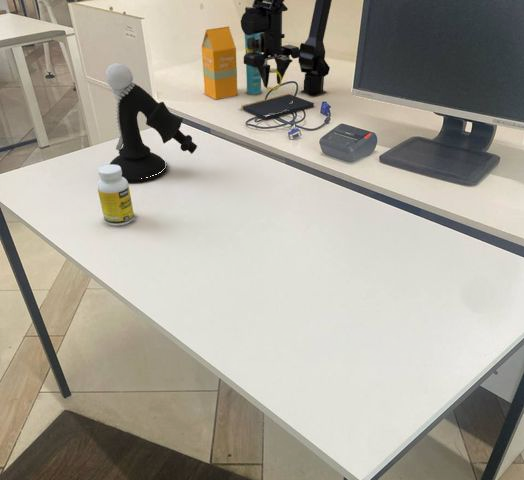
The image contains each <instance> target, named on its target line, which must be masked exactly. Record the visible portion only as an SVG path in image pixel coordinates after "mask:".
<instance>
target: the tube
mask: <svg viewBox="0 0 524 480" xmlns="http://www.w3.org/2000/svg"><path fill="white" fill-rule="evenodd" d="M243 33H244V32H243ZM261 33H263V32H261ZM261 33H257V34H252V35H246V34H245V33H244V47H245V48H244V49H245V54H247V53H251V52H253V51H252V50H249V49H248V47H247V39H248V38H251V37H254V38H255V40H257V39H260V34H261ZM256 53H259V54H263V53H261V52H259V51H257V52H256ZM245 71H246V73H245V74H246V75H245V76H246V93H247V94H248V95H252V96H254V95H260V94H261V93H262V78H261V75H260V72H259V70H258V68H257V67H252V66H249V65H246V64H245Z"/></svg>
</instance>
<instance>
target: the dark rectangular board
mask: <svg viewBox="0 0 524 480" xmlns="http://www.w3.org/2000/svg"><path fill="white" fill-rule="evenodd" d="M292 100H293V104H289V103H290V102H291V101H292ZM314 106H315V103H314V102H312V101H309V100H308V99H304V98H301V97H299V96H296V95H293V94H291V93H284V94H280V95H277V96H273V97H269V98H266V99H262V100H258V101H257V100H256V101H254V102H249V103H246V104H242V105H241V106H240V110H242V111H244V112H247V113H249V114H251V115H253V116H256V117H258V118H260V119H262V120H264V121H268V120H272V119H275V118H280V117H283V116H285V115H289V114H294V113H297V112H300V111H303V110H307V109H310V108H314ZM285 109H287V110H289V111H286V112H282V113H279V114H275V115H271V116H268V117H265V116H263V115H267V114H269V113H278V112H281V111H283V110H285Z"/></svg>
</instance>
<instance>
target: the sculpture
mask: <svg viewBox="0 0 524 480" xmlns="http://www.w3.org/2000/svg"><path fill="white" fill-rule="evenodd" d="M105 80H106V83H107V85H108V86H109V87H110V89H109V90H110V91H111V92H112V93H113V96H114V100H115V102H116V110H115V111H116V123H117V128H118V131H119V133H118V134H119V139H118V141H117V144H116V147H115V150H116V151H118V154H119V155H117V156H116V157H115V158H113V159H112V160H111V161H110V162H109V164H108V165H110V164H114V165H118V166H120V167H121V170H122V177H124V178H125V179H126V180H127V181H128V184H137V183H138V184H141V183H145V182H151V181H155V180H156V179H158V178H160V177H162V176H164V175H165V174H166V172H167V171H168V165H167V166H166V168H165V161H166V160H165V159H164V158H162V157H161V156H160V155H158V154H156V153H154V152H151V150H152V149H151V147H149V146H147V145H146V144H145V143H144V142H143V139H142V135H141V131H140V127H139V122H138V121H139V120H138V116H139V113H142V114H143V115H144V117H145V118H146V121H145V125H146V126H148V127H150V128H152V129H153V130H155V131H156V132H157V133H158V135H159V136H160V138H161V140H162V143H163V144H166V143H168V142H169V141H171V140H172V139H173V140H174V141H176V142H177V143H178V144H179V145H180V147H179V148H180V150H181V151H183V152H189V153H190V155H192V154H193V153H194V152H195V151H196V150H197V148H198V145H197V144H196V143H195V142H194V141H193V137H192V135H190V134H187V135H185V134H184V133H183V132H182V131H181V130H180V128H181V127H182V123H183V120H184V118H183V117H179V116H176V115H175V114H173V113H172V112H171V111H170V110H169V109H168V107H167V106H166V104H165V102H164V101H160V102H158V101H157V100H156V99H155V98H153V96H152V95H151V94H150V93H149V92H147V91H146V90H145V89H144V88H143V87H141V86H140V85H138V84H136V83H135V82H134V81H133V80H134V75H133V72H132V70H131V69H130V68H129V67H128V66H127V65H126V64H124V63H120V62H115V63H112V64H111V65H109V66H107V69H106V70H105ZM163 159H164V160H165V161H164V160H163ZM164 168H165V169H164ZM163 169H164V170H163ZM162 170H163V171H162ZM161 171H162V172H161ZM159 172H161V173H159ZM158 173H159V174H158ZM155 174H157V175H155ZM152 175H154V176H152ZM150 176H151V177H150ZM146 177H148V178H146ZM141 178H142V179H141Z"/></svg>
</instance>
